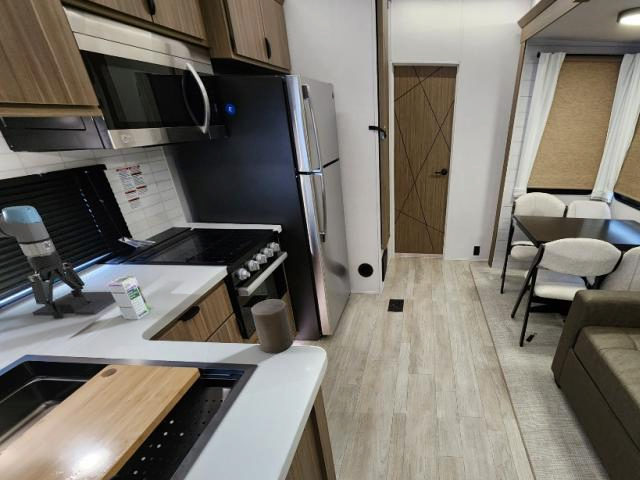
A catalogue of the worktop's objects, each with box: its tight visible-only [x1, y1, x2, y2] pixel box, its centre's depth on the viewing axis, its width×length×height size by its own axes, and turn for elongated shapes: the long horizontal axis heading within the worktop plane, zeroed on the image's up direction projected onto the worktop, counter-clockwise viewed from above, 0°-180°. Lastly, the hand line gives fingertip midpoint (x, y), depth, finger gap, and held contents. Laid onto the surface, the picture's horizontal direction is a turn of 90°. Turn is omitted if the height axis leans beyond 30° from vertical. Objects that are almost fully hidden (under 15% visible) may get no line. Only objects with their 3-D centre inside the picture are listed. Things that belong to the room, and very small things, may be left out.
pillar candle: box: [250, 298, 294, 354], centre depth 100 cm, size 10×10×15 cm
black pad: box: [57, 297, 88, 315], centre depth 122 cm, size 6×6×5 cm
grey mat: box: [32, 291, 116, 316], centre depth 126 cm, size 22×16×2 cm
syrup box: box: [106, 275, 151, 320], centre depth 117 cm, size 6×6×14 cm
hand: (71, 312), depth 121 cm, fingers open, 9 cm apart
